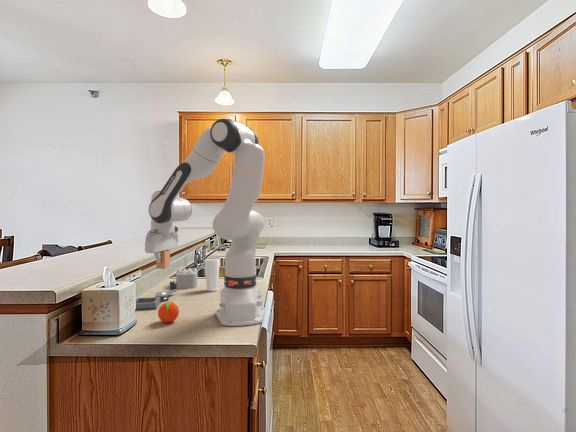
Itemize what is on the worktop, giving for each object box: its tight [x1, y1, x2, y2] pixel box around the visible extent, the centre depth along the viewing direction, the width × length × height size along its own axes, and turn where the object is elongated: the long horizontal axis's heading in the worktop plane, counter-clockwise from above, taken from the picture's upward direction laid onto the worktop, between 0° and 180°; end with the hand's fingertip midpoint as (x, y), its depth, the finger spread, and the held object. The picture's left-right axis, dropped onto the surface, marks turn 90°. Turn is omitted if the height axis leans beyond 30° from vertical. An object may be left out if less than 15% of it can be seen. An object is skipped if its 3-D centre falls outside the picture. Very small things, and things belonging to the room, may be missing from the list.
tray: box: [135, 296, 161, 311], centre depth 139 cm, size 9×9×2 cm
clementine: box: [157, 301, 180, 324], centre depth 120 cm, size 8×7×7 cm
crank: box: [155, 280, 178, 298], centre depth 153 cm, size 13×4×4 cm, turn 165°
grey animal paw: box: [175, 267, 199, 290], centre depth 177 cm, size 10×13×9 cm
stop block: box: [155, 250, 171, 270], centre depth 147 cm, size 4×4×7 cm
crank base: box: [160, 295, 169, 303], centre depth 149 cm, size 6×6×1 cm
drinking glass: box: [204, 257, 220, 292], centre depth 166 cm, size 7×7×15 cm
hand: (162, 261), depth 147 cm, fingers closed on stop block, 4 cm apart
